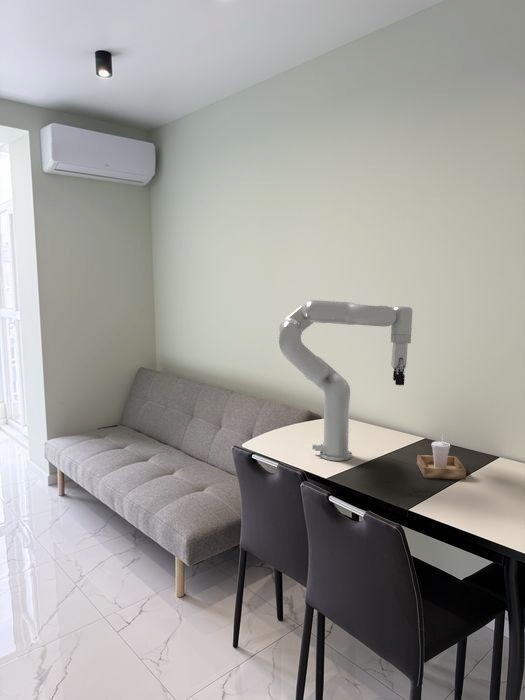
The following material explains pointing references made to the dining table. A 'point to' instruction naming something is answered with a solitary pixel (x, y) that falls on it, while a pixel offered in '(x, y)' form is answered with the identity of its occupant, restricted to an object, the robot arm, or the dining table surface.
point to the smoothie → (440, 453)
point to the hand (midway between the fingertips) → (398, 382)
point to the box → (450, 472)
